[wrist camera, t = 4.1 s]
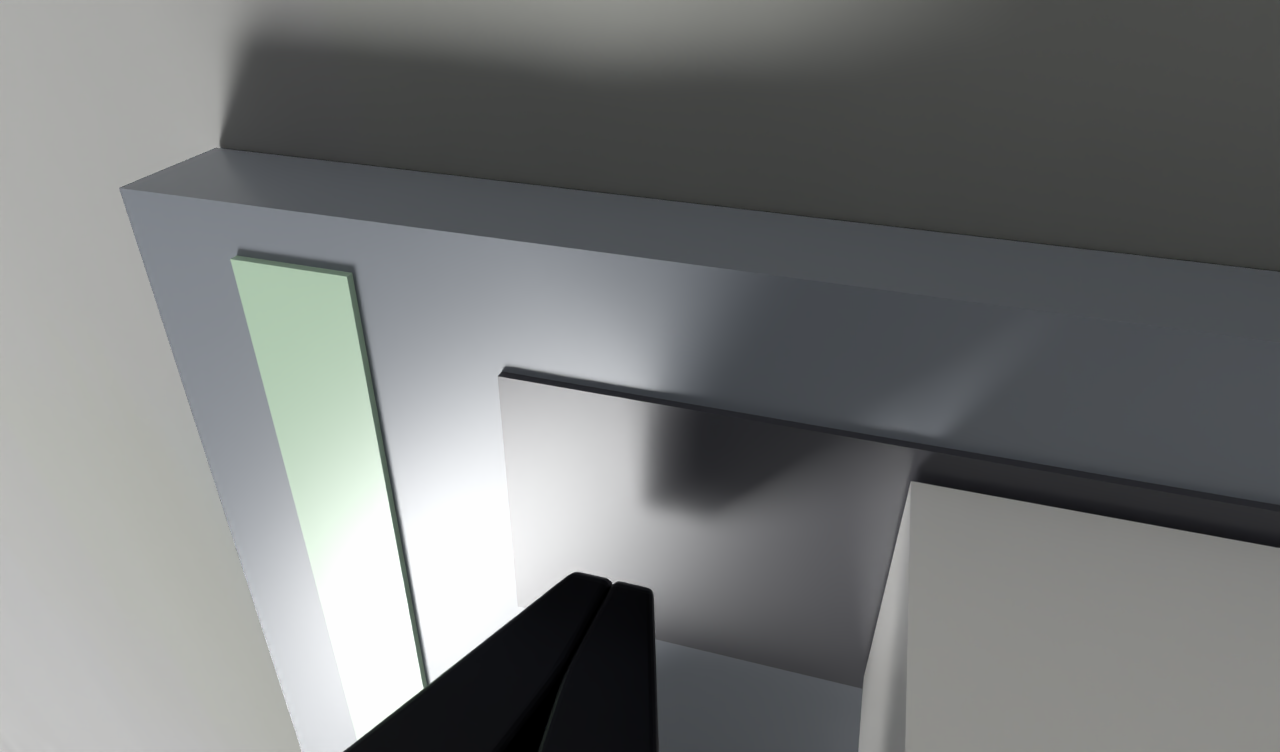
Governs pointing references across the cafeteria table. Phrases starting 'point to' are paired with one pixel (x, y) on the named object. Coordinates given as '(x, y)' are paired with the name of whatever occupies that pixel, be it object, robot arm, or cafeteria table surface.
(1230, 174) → the cafeteria table surface
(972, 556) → the block
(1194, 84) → the cafeteria table surface
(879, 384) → the panel
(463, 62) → the cafeteria table surface
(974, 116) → the cafeteria table surface
